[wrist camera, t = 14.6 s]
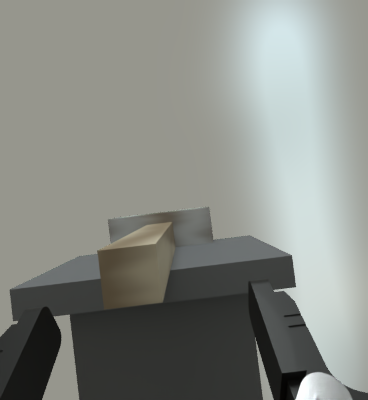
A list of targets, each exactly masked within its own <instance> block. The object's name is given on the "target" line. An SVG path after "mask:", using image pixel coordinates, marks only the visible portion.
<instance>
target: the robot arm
mask: <svg viewBox="0 0 368 400" xmlns="http://www.w3.org/2000/svg"><path fill="white" fill-rule="evenodd" d="M248 308H249V316H250V320H251V324H252V328H253V331H254V334H255V338H256V341H257V344H258V348H259V351H260V354H261V358H262V361H263V365H264V368H265V371H266V375H267V378H268V381H269V385H270V388H271V392H272V395H273V398H274V400H368V393H365V392H360V391H357V390H353V389H351V388H349V387H347V386H345V385H344V384H342V383H341V382H340V381H339V380H337V379H336V378H335V377H334V376H333V375H332V374H331V373H330V371H329V370H328V368H327V367H326V365H325V363H324V361H323V359H322V356H321V354H320V352H319V350H318V348H317V346H316V344H315V342H314V340H313V338H312V336H311V334H310V332H309V330H308V328H307V327H306V324H305V322H304V320H303V318H302V316H301V314H300V311H299V309H298V307H297V305H296V303H295V301H294V300H293V299H291V297H290V296H289V295H287V294H286V293H285V292H284V291H281V292H274V291H273V289H272V286H271V284H270V282H269V280H268V279H262V280H254V281H249V282H248ZM60 345H61V332H60V329H59V327H58V325H57V323H56V321H55V319H54V317H53V315H52V313H51V311H50V309H49V308H48V307H37V308H29V309H26V310H25V311H24V312H23V313H22V315H21V317H20V319H19V321H18V323H17V324H14V325H11V327H9V329H8V330H7V331H6V332H5V333H4V334H3V335H2V336H1V337H0V400H42V398H43V395H44V392H45V389H46V386H47V383H48V380H49V378H50V375H51V372H52V369H53V366H54V363H55V360H56V357H57V354H58V352H59V348H60Z"/></svg>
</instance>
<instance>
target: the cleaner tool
mask: <svg viewBox="0 0 368 400" xmlns="http://www.w3.org/2000/svg"><path fill="white" fill-rule="evenodd" d="M108 224H109V233H110V241H111V244H109V245H108V246H106V247H104V248H102V249H100V250H98V251H97V252H98V261H99V270H100V278H101V287H102V295H103V304H104V310H105V309H113V308H121V307H129V306H138V305H146V304H154V303H162V302H163V299H164V295H165V290H166V286H167V282H168V278H169V273H170V269H171V265H172V260H173V256H174V252H175V247H182V246H190V245H198V244H207V243H214V242H213V234H212V227H211V218H210V210H209V207H201V208H193V209H185V210H176V211H168V212H160V213H153V214H144V215H135V216H128V217H119V218H114V219H108Z"/></svg>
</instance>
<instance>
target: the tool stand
mask: <svg viewBox="0 0 368 400" xmlns="http://www.w3.org/2000/svg"><path fill="white" fill-rule="evenodd" d="M213 242H214V243H207V244H198V245H190V246H182V247H175V252H174V256H173V260H172V265H171V269H170V273H169V278H168V282H167V286H166V290H165V295H164V299H163V302H162V303H154V304H146V305H138V306H129V307H121V308H113V309H105V310H104V304H103V295H102V287H101V278H100V270H99V261H98V254H94V255H86V256H79V257H77V258H75V259H73V260H70V261H68V262H66V263H64V264H62V265H60V266H58V267H56V268H54V269H52V270H50V271H48V272H45V273H44V274H41V275H40V276H37V277H35V278H33V279H31V280H29V281H27V282H25V283H23V284H21V285H18V286H16V287H14V288H12V289H10V296H11V305H12V315H13V321H19V319H20V317H21V315H22V313H23V312H24V311H25V310H26V309H29V308H37V307H48V308H49V309H50V311H51V313H52V315H53V316H60V315H69V314H70V321H71V330H72V338H73V347H74V356H75V365H76V374H77V383H78V391H79V400H263V397H262V389H261V381H260V373H259V366H258V357H257V350H256V341H255V334H254V331H253V328H252V324H251V320H250V316H249V308H248V282H249V281H254V280H262V279H268V280H269V282H270V284H271V286H272V289H273V290H275V289H284V288H292V287H296V283H295V276H294V268H293V260H292V255H290V254H288V253H286V252H283V251H281V250H279V249H277V248H275V247H273V246H271V245H269V244H267V243H264V242H262V241H260V240H258V239H256V238H254V237H252V236H241V237H234V238H225V239H217V240H213Z"/></svg>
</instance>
